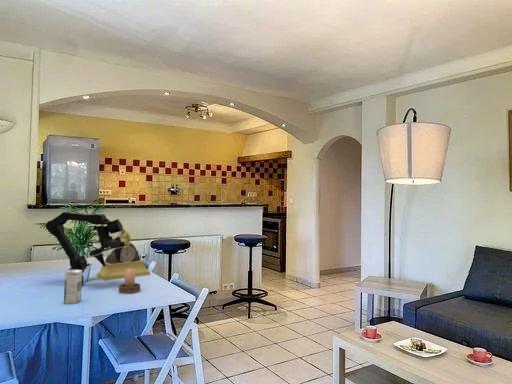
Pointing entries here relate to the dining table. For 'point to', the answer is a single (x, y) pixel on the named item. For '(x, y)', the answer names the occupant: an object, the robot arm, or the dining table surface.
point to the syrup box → (72, 286)
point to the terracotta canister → (130, 277)
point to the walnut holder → (129, 289)
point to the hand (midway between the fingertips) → (112, 263)
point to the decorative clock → (123, 261)
